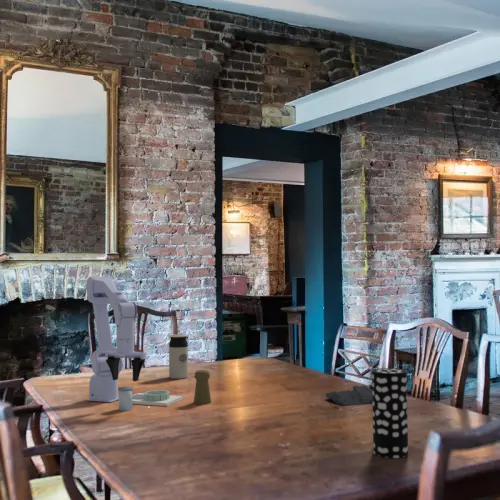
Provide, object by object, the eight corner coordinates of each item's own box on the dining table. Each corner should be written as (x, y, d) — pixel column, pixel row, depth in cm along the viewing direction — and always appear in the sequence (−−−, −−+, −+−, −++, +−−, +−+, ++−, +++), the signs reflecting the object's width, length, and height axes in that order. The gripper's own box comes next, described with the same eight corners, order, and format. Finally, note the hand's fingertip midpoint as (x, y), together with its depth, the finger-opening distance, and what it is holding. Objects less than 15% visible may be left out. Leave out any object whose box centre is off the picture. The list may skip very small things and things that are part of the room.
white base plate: (120, 402, 208) (120, 394, 209) (137, 395, 220) (137, 387, 220) (166, 406, 202) (166, 397, 203) (182, 399, 214) (182, 390, 214)
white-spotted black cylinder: (369, 448, 152) (367, 368, 153) (401, 447, 153) (400, 367, 153) (379, 458, 144) (377, 374, 144) (413, 457, 144) (411, 373, 145)
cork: (208, 404, 204) (208, 371, 205) (191, 404, 205) (191, 371, 206) (213, 400, 210) (212, 369, 211) (196, 400, 211) (196, 368, 212)
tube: (115, 410, 197) (115, 388, 197) (123, 407, 202) (122, 386, 202) (127, 411, 196) (127, 389, 196) (135, 408, 200) (135, 386, 200)
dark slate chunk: (320, 399, 214) (320, 385, 214) (374, 394, 221) (374, 381, 221) (341, 408, 199) (340, 393, 199) (398, 402, 207) (398, 388, 207)
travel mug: (166, 376, 259) (166, 334, 260) (184, 375, 263) (184, 333, 263) (172, 379, 252) (172, 336, 253) (190, 378, 256) (190, 335, 256)
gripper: (99, 339, 198) (99, 381, 198) (138, 340, 193) (138, 383, 193) (111, 337, 205) (111, 377, 204) (149, 338, 200) (149, 379, 199)
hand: (125, 380), depth 199 cm, fingers open, 7 cm apart
